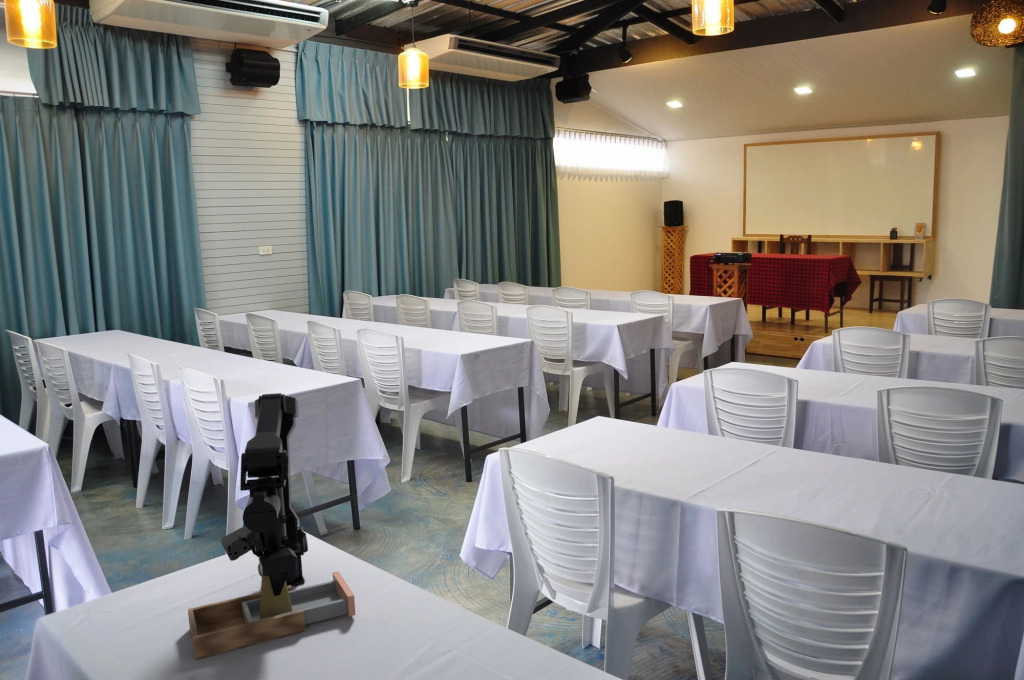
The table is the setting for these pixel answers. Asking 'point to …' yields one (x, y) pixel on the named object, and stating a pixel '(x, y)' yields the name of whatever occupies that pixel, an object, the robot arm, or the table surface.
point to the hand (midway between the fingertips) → (274, 589)
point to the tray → (312, 601)
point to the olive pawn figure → (273, 599)
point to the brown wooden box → (237, 626)
